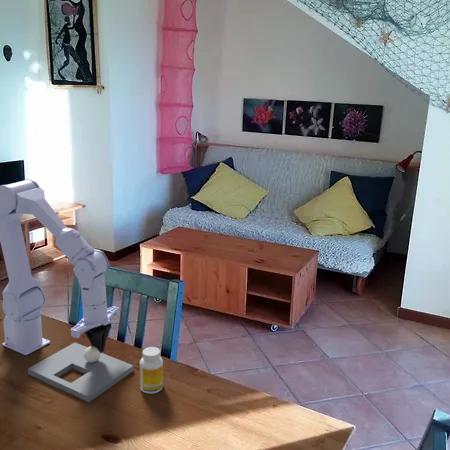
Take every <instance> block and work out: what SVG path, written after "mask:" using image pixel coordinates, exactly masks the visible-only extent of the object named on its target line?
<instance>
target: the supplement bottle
mask: <svg viewBox="0 0 450 450" xmlns="http://www.w3.org/2000/svg"><path fill="white" fill-rule="evenodd" d="M163 387H164V360H163V358H162V357H161V350H160V348H158V347H155V346H148V347H146V348H144V349H143V350H142V357H141V358H140V360H139V388H140V390H141V392H143V393H144V394H148V395H149V394H156V393H160V391H161V390H162V389H163Z"/></svg>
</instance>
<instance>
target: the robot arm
mask: <svg viewBox="0 0 450 450" xmlns="http://www.w3.org/2000/svg"><path fill="white" fill-rule="evenodd" d="M23 215H32V216H33V217H34V218H35V219H37V221H38V222H39V223H41V224H42V225H43V226H44V227H45V228H46V229H47V230H48V231H49V232H50V233H51V234H52V235H53V236H54V237H55V246H56V247H57V249H59V250H60V251H61V253H63V255H64V256H65V257H66V258H67V259H68V260H69V262H71V263H72V264H73V265H74V267H73V268H72V271H73V273H74V275H75V277H76V278H77V280H78V285H79V286H80V296H81V303H82V315H83V317H82V318H81V320H80V321H78V323H76V325H74V326H73V327H71V328H70V335H71V336H70V337H71V338H74V339H79V338H80V337H81V335H83V334H84V335H85V336H86V337H87V339H88V341H89V342H90V345H91V346H95V347H96V348H97V349H98V350H99V352H100V353H104V351H105V348H106V342H107V337H108V334H109V332H110V330H111V329H112V323H111V318H113V317H115V316H116V317H117V316H119V315H120V307H119V306H114V305H113V306H110V307H108V303H107V291H106V290H107V289H106V288H107V287H106V278H105V272H106V271H107V270H108V268H109V259H108V256H106V253H105V252H104V251H102V250H101V249H96V248H95V247H92V246H91V245H90V244H89V243H88V242H87V241H86V239H85V238H84V237H83V236H82V235H81V233H80V232H79V231H78V230H76V228H71V227H70V228H69V227H67V226H66V224H65V223H64V222H63V221H62V219H61V217H60V216H59V215H58V214H57V213H56V211H55V210H54V208H52V206H51V205H50V203H48V201H47V200H46V197H45V190H44V189H43V188H42V187H41V186H40V185H39V184H38V182H37V181H35V180H34V179H32V178H26V179H24V180H22V181H21V180H20V181H17V182H13V183H12V182H11V183H9V184H1V185H0V245H1V250H2V254H3V260H4V262H5V263H4V264H5V268H6V269H5V270H6V272H7V273H6V274H7V277H8V283H7V284H6V286H5V288H4V289H3V291H2V292H1V294H2V310H3V312H4V314H5V316H4V319H3V332H4V340H5V341H4V342H3V343H2V346H3V347H6V348H8V349H10V350H12V351H15V352H17V353H20V354H21V355H24V356H27V355H29V354H32V353H33V352H35V351H37V350H39V349H41V348H43V347H45V346H47V345H48V344H49V345H50V343H51V340H49V339H46V338H44V337H43V330H42V329H43V326H42V313H41V312H42V311H43V307H44V305H45V304H46V302H47V295H46V292H45V290H44V289H43V287H42V285H41V281H40V280H39V279H36V278H35V277H33V276H32V271H31V267H30V261H29V257H28V252H27V247H26V242H25V238H24V234H23V228H22V225H21V224H22V223H21V217H22V216H23Z"/></svg>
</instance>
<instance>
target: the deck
mask: <svg viewBox="0 0 450 450" xmlns="http://www.w3.org/2000/svg"><path fill="white" fill-rule="evenodd" d="M88 347H89V346H88ZM88 347H87V346H85V345H83V344H80V343H78V342H73V343H71V344H70V345H68V346H65V347H64V348H62V349H60V350H59V351H57V352H56V353H52V355H50V356H48V357H46V358H44V359H43V360H41V361H39V362H37V363H35V364H34V365H31V366H30V367H28V368H27V375H29V376H31V377H33V378H35V379H37V380H40V381H42V382H44V383H46V384H48V385H51V386H53V387H54V388H56V389H59V390H61V391H63V392H66V393H67V394H70V395H72V396H74V397H75V398H78V399H80V400H82V401H85V402H87V403H90V402H92V401H93V400H95V399H96V398H97V397H98V396H101V395H102V394H103V393H105V392H106V391H107V390H109V389H110V388H112V387H113V386H114V385H115V384H117V383H120V381H121V380H123V379H124V378H126V377H127V376H128V375H130V374H131V373H133V372H134V365H133V364H131V363H129V362H126V361H123V360H121V359H118V358H115V357H113V356H110V355H108V354H105V353H104V352H102V353H101V356H100V358H99V360H98V361H96V362H94V363H90V362H88V361H86V360H85V358H84V352H85V350H86V349H87V348H88ZM72 370H74V371H76V372H79V373H81V374H83V375H82V376H80V377H78V378H77V379H75V380H73V381H72V382H70V381H68V380H65V379H63V378H61V377H62V376H63V375H65V374H66V373H68V372H70V371H72Z"/></svg>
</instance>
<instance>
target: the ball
mask: <svg viewBox="0 0 450 450" xmlns="http://www.w3.org/2000/svg"><path fill="white" fill-rule="evenodd" d="M100 356H101V353H100V352H99V350H98V349H97V348H96V347H95V346H92V345H91V346H88V348H87V349H86V350H85V352H84V358H85V360H86V361H88V362H90V363H94V362H96V361H98V360H99V358H100Z"/></svg>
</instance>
